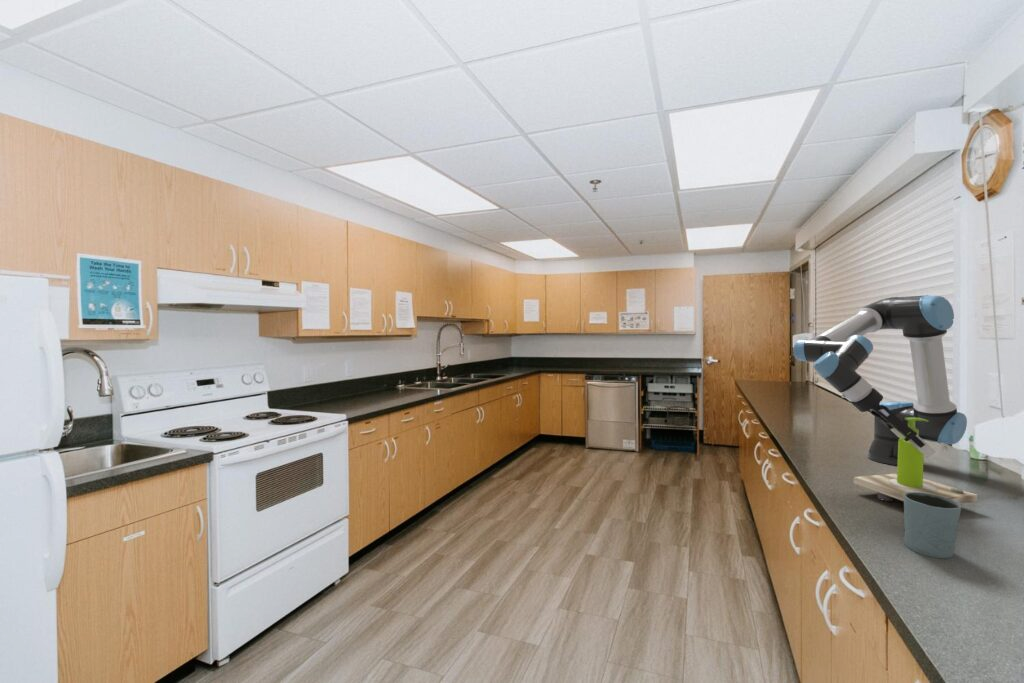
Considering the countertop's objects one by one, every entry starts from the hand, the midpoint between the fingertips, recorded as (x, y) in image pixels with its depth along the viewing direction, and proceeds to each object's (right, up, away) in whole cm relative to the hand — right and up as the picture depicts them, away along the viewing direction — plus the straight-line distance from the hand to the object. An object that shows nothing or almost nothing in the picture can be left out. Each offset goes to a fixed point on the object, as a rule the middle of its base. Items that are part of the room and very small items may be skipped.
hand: (921, 448), depth 140 cm
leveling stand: (-2, -16, +1) cm, 16 cm away
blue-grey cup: (-23, -17, -29) cm, 41 cm away
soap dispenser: (-2, -11, +2) cm, 11 cm away
